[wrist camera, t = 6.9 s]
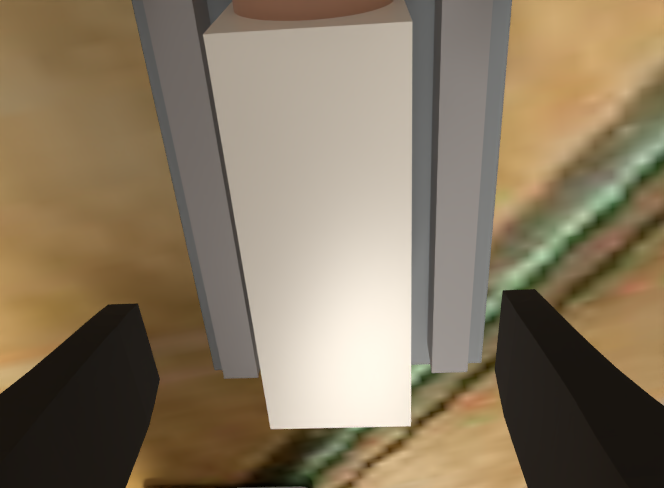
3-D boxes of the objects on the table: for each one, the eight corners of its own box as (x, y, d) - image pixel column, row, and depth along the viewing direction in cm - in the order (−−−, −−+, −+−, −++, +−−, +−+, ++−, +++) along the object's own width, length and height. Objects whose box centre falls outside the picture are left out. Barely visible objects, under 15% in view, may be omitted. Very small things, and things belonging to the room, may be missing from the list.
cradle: (476, 344, 23) (488, 392, 21) (219, 352, 24) (206, 399, 22) (514, -152, 15) (541, -154, 13) (118, -121, 16) (81, -118, 13)
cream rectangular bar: (399, 315, 21) (410, 426, 17) (286, 319, 22) (270, 429, 17) (395, -111, 15) (412, -101, 10) (231, -98, 15) (183, -84, 11)
